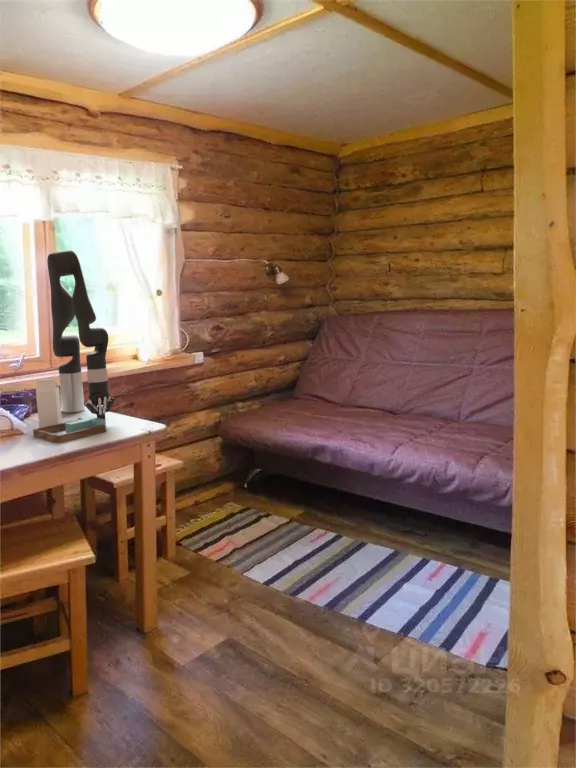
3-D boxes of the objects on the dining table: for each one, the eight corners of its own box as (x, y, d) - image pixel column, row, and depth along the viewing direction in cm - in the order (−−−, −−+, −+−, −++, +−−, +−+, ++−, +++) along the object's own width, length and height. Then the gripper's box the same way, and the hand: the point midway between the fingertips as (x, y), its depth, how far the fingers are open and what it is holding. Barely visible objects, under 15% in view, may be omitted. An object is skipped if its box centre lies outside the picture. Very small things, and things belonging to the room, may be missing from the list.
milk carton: (58, 428, 233) (54, 380, 229) (39, 430, 232) (34, 381, 228) (62, 424, 240) (58, 377, 236) (43, 425, 239) (39, 378, 235)
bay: (33, 436, 223) (32, 429, 222) (79, 425, 237) (79, 419, 237) (58, 443, 212) (58, 436, 211) (105, 431, 226) (105, 425, 226)
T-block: (60, 432, 227) (59, 421, 227) (87, 425, 237) (87, 415, 236) (78, 436, 220) (77, 425, 219) (106, 429, 229) (105, 419, 229)
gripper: (106, 376, 239) (110, 419, 242) (76, 381, 229) (81, 426, 232) (118, 378, 234) (121, 421, 237) (88, 383, 224) (92, 428, 227)
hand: (101, 423), depth 234 cm, fingers closed
